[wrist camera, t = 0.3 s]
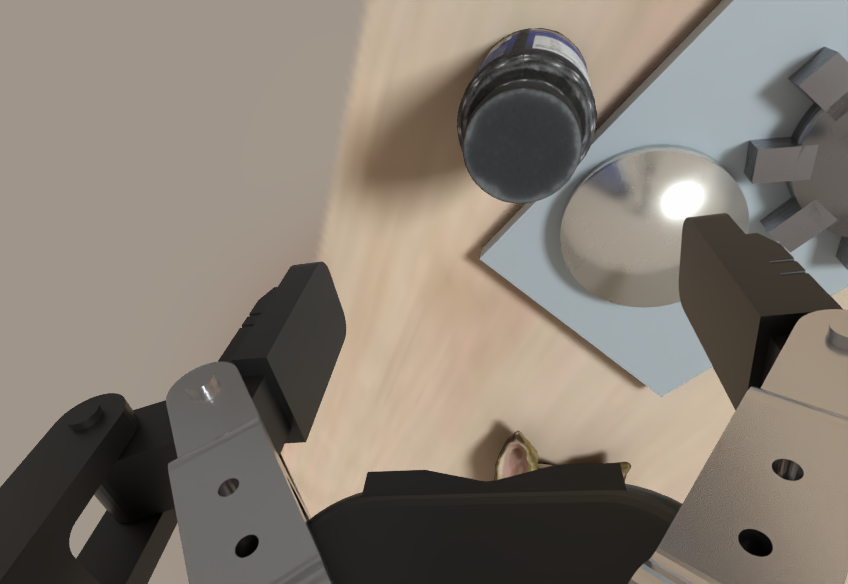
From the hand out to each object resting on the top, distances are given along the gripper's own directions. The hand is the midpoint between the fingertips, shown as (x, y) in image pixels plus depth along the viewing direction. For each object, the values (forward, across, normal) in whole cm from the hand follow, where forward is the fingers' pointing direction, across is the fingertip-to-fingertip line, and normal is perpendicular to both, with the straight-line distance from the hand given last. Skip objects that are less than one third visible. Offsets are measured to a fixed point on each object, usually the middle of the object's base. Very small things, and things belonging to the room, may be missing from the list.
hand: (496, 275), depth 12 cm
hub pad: (+19, -8, +9) cm, 23 cm away
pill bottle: (+21, -2, +1) cm, 21 cm away
